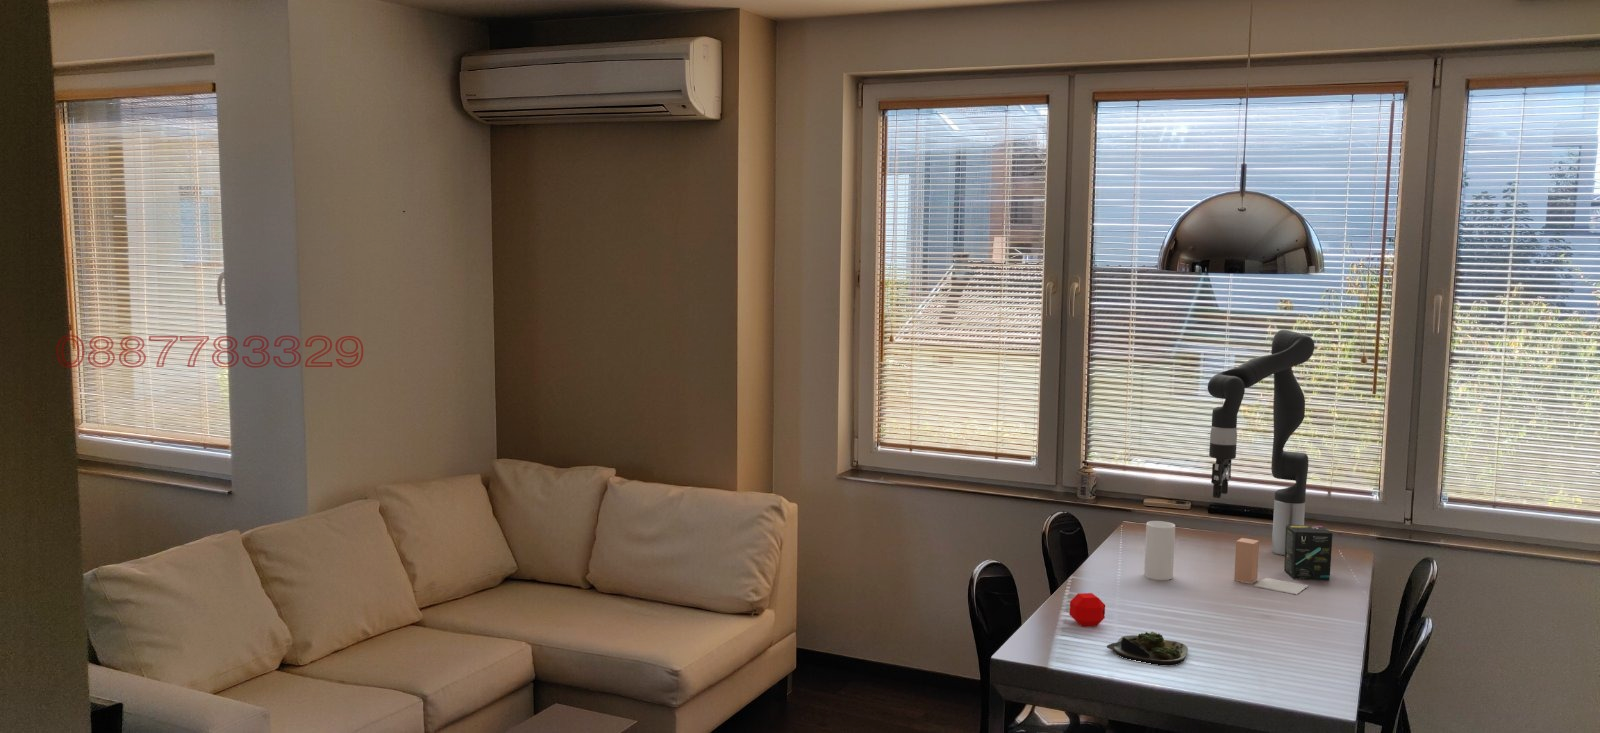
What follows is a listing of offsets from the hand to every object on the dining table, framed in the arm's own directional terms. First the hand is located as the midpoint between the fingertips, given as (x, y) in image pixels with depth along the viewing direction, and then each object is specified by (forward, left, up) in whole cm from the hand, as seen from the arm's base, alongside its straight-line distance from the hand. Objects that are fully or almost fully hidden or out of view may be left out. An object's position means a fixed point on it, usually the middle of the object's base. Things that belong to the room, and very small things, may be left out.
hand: (1220, 495), depth 340 cm
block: (0, +9, -24) cm, 26 cm away
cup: (+14, -12, -25) cm, 31 cm away
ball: (+70, -8, -25) cm, 74 cm away
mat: (-1, +19, -24) cm, 31 cm away
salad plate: (+80, +13, -25) cm, 85 cm away
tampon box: (-18, +21, -25) cm, 37 cm away
